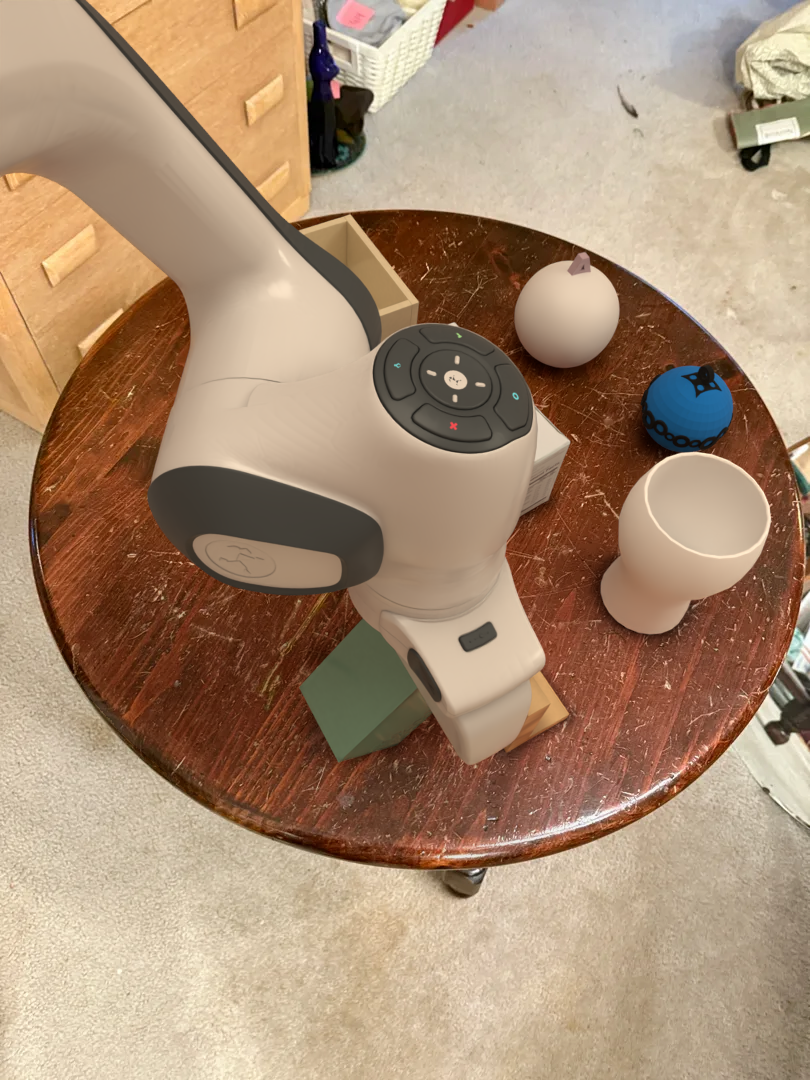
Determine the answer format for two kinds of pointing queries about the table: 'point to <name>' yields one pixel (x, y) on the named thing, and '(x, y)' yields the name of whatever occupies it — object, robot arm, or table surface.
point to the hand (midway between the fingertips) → (405, 656)
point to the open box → (368, 271)
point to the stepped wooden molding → (540, 711)
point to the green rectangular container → (364, 695)
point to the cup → (683, 539)
